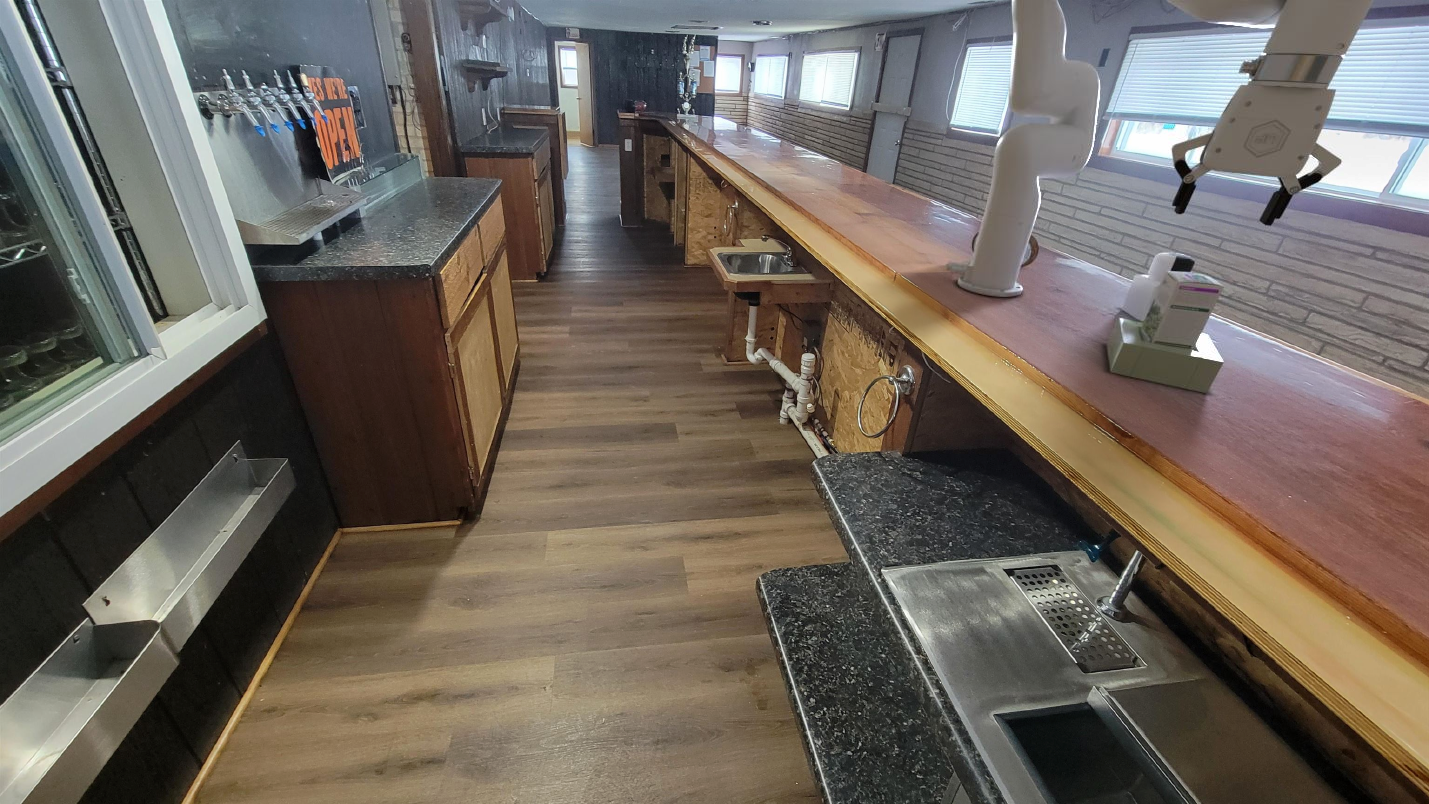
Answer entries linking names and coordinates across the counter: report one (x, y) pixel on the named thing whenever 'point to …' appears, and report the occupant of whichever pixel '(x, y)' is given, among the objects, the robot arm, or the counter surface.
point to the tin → (1029, 253)
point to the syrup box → (1180, 309)
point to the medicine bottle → (1153, 282)
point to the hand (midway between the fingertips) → (1220, 218)
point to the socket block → (1162, 359)
